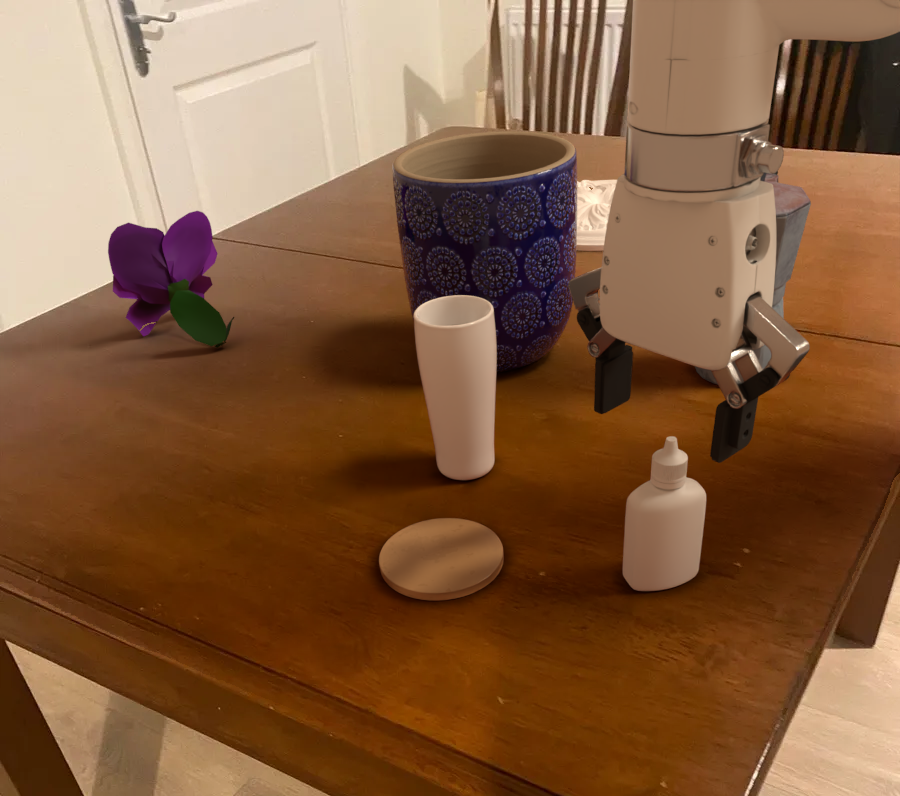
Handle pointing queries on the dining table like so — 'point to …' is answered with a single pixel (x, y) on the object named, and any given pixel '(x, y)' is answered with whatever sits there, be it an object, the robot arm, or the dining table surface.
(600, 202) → the ceiling medallion
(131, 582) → the dining table surface
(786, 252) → the moka pot
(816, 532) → the dining table surface
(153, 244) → the flower
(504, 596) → the dining table surface
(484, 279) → the planter
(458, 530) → the cork trivet
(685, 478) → the eye dropper bottle
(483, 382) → the drinking glass
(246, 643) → the dining table surface
